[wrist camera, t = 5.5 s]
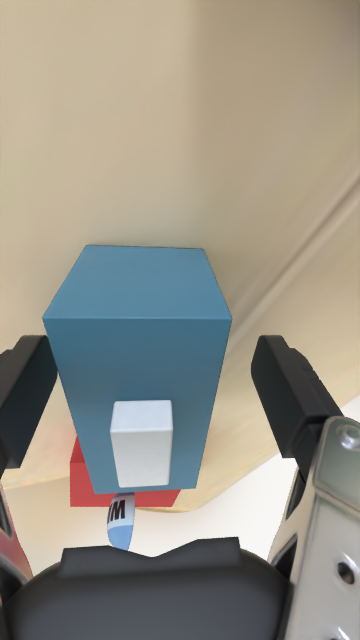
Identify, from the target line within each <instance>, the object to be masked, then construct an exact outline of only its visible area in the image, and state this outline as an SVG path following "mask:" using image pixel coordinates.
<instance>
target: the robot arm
mask: <svg viewBox="0 0 360 640" xmlns="http://www.w3.org/2000/svg"><path fill="white" fill-rule="evenodd" d="M57 374H58V369H57V366H56V362H55V359H54V356H53V352H52V349H51V346H50V342H49V339H48V337H47V336H46V335H24V336H22V337H21V338H20V339H19V341H18V342H17V344H16V345H15V347H14V348H13V350H6V351H4V352H3V353H2V354H0V479H1V477H2V475H3V472H4V470H5V469H13V468H20V466H21V464H22V461H23V459H24V457H25V454H26V452H27V450H28V447H29V445H30V442H31V440H32V438H33V435H34V433H35V430H36V428H37V426H38V423H39V421H40V418H41V416H42V414H43V411H44V409H45V406H46V404H47V402H48V399H49V397H50V394H51V392H52V390H53V387H54V385H55V383H56V380H57ZM251 375H252V379H253V382H254V385H255V387H256V390H257V392H258V395H259V398H260V400H261V403H262V406H263V408H264V411H265V413H266V416H267V419H268V421H269V424H270V427H271V429H272V432H273V434H274V437H275V440H276V442H277V445H278V447H279V450H280V453H281V455H282V458H295V459H296V462H297V464H298V467H297V469H296V471H295V475H294V478H293V482H292V486H291V489H290V492H289V496H288V500H287V503H286V506H285V510H284V514H283V517H282V521H281V524H280V526H279V529H278V532H277V534H276V536H275V538H274V540H273V544H272V546H271V549H270V552H269V555H268V559H267V561H266V560H264V559H262V558H260V557H259V556H257V555H256V554H254V553H251V552H249V551H247V550H244V549H241V548H240V544H239V539H238V537H226V538H212V539H197V540H194V541H192V542H190V543H187V544H185V545H183V546H180V547H178V548H176V549H173V550H171V551H168V552H167V553H164V554H161V555H159V556H156V557H147V556H144V555H140V554H137V553H133V552H130V551H126V550H123V549H119V548H116V547H112V546H109V545H107V546H91V547H77V548H64V549H63V553H62V558H61V561H60V562H58V563H56V564H54V565H52V566H50V567H48V568H46V569H45V570H43V571H42V572H40V573H39V574H38V575H36V576H34V577H33V574H32V571H31V568H30V565H29V562H28V560H27V557H26V555H25V553H24V551H23V549H22V548H21V545H20V543H19V541H18V538H17V535H16V531H15V528H14V525H13V521H12V518H11V514H10V511H9V507H8V504H7V501H6V497H5V494H4V490H3V487H2V484H1V482H0V640H360V423H359V422H357V421H355V420H353V419H351V418H348V417H344V415H343V414H342V412H341V411H340V409H339V407H338V406H337V404H336V403H335V401H334V400H333V398H332V397H331V395H330V394H329V392H328V391H327V389H326V388H325V386H324V385H323V383H322V382H321V380H319V377H318V376H317V374H316V372H315V371H313V368H312V366H311V365H310V363H309V362H308V360H307V359H306V357H304V356H303V355H302V354H301V353H300V352H298V351H297V350H296V349H295V348H289V347H288V345H287V343H286V342H285V340H284V338H283V337H282V336H280V335H261V336H260V337H259V339H258V342H257V346H256V349H255V353H254V356H253V360H252V363H251Z"/></svg>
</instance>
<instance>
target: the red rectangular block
mask: <svg viewBox="0 0 360 640" xmlns="http://www.w3.org/2000/svg"><path fill="white" fill-rule="evenodd" d="M180 490H181V489H176V490H159V491H143V492H126V493H109V494H95V493H94V490H93V486H92V483H91V479H90V476H89V473H88V469H87V466H86V463H85V459H84V456H83V453H82V449H81V446H80V443H79V439H78V436H77V437H76V441H75V445H74V449H73V453H72V457H71V461H70V505H71V507H72V506H73V507H77V506H78V507H83V506H84V507H110V508H109V512H108V517H107V533H108V537H109V540H110V542H111V544H112V545H113V546H114V547H116V548H119V549H123V550H126V551H128V549H129V545H130V541H131V537H132V531H133V524H134V515H135V507H172V505H173V503H174V501H175V500H176V498H177V496H178V494H179V492H180Z"/></svg>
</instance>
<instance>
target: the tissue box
mask: <svg viewBox="0 0 360 640" xmlns="http://www.w3.org/2000/svg"><path fill="white" fill-rule="evenodd" d="M42 319H43V322H44V326H45V329H46V332H47V336H48V339H49V342H50V346H51V349H52V352H53V356H54V359H55V362H56V366H57V369H58V372H59V376H60V379H61V383H62V386H63V389H64V393H65V396H66V399H67V403H68V406H69V409H70V413H71V416H72V419H73V423H74V426H75V429H76V433H77V436H78V439H79V443H80V446H81V449H82V453H83V456H84V459H85V463H86V466H87V469H88V473H89V476H90V479H91V483H92V486H93V490H94V493H95V494H109V493H126V492H143V491H159V490H176V489H193V488H196V484H197V479H198V475H199V470H200V466H201V461H202V456H203V452H204V447H205V442H206V438H207V433H208V428H209V424H210V419H211V415H212V410H213V405H214V401H215V396H216V391H217V387H218V382H219V378H220V373H221V368H222V364H223V359H224V354H225V350H226V345H227V340H228V336H229V331H230V327H231V322H232V317H231V314H230V312H229V309H228V307H227V305H226V302H225V300H224V297H223V295H222V293H221V290H220V288H219V285H218V283H217V281H216V278H215V276H214V273H213V271H212V269H211V266H210V264H209V261H208V259H207V257H206V254H205V252H204V249H188V248H156V247H125V246H93V245H86V246H85V248H84V250H83V251H82V253H81V255H80V256H79V258H78V259H77V261H76V263H75V264H74V266H73V268H72V269H71V271H70V273H69V274H68V276H67V277H66V279H65V281H64V282H63V284H62V286H61V287H60V289H59V291H58V292H57V294H56V295H55V297H54V299H53V300H52V302H51V304H50V305H49V307H48V309H47V310H46V312H45V313H44V315H43V317H42Z"/></svg>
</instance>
